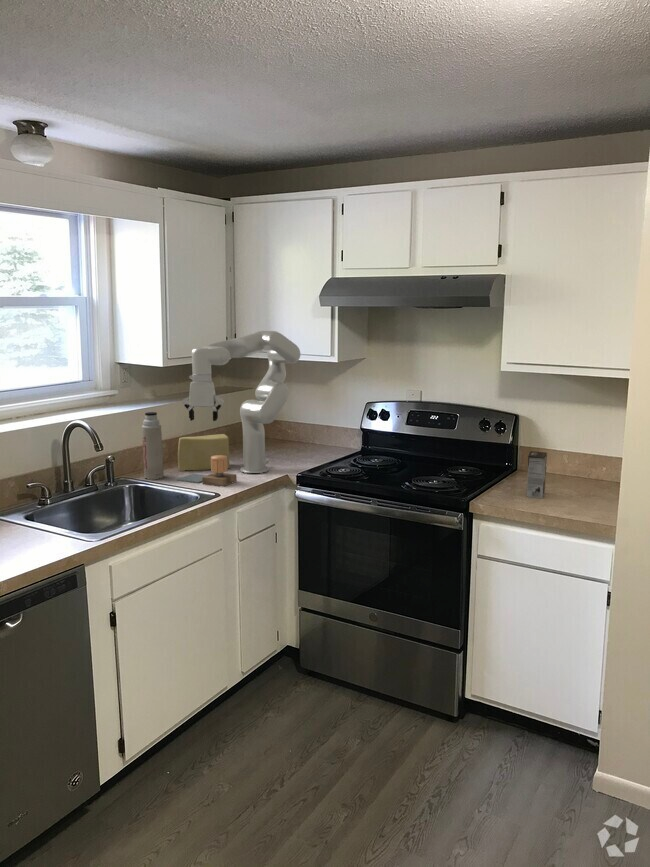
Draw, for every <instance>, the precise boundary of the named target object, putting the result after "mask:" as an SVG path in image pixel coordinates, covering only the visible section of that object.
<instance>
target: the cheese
mask: <svg viewBox="0 0 650 867" xmlns="http://www.w3.org/2000/svg"><path fill="white" fill-rule="evenodd" d="M229 440H230V439H229V436H228V435H226V434H224V433H221V434H220V433H219V434H208V435H201V436H200V435H198V436H183V437H179V439H178V448H177V464H178V465H177V466H178V467H177V468H178V471H179V472H186V471H185V470H194V471H206V470H207V469H211V457H212V456H215V455H225V456H227V468H229V469H230V442H229ZM207 471H208V470H207Z"/></svg>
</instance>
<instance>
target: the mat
mask: <svg viewBox="0 0 650 867" xmlns="http://www.w3.org/2000/svg"><path fill="white" fill-rule="evenodd" d="M207 475H208V474H199V473H190V474H187V475H185V476H182V477H179V478H177V479H176V481H177V480H180V481H179V482H184V481H186V482H185V483H192V482H193V484H201V483H203V480H202V477H204V476H207Z"/></svg>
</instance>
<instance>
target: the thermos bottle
mask: <svg viewBox="0 0 650 867" xmlns="http://www.w3.org/2000/svg"><path fill="white" fill-rule="evenodd" d="M144 415H145V416H144V418H145V419H144V420H143V422H142V425H141V436H142V456H143V472H144V473H143V474H144V475H143V477H144V479H145V478H147V479H146V480H159V478H160V479H163V478H164V475H165V473H164V460H163V437H162V436H163V435H162V425H161V424H160V423H161V422H160V419H158V413H157V412H156V411H148V412H145V413H144Z"/></svg>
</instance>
